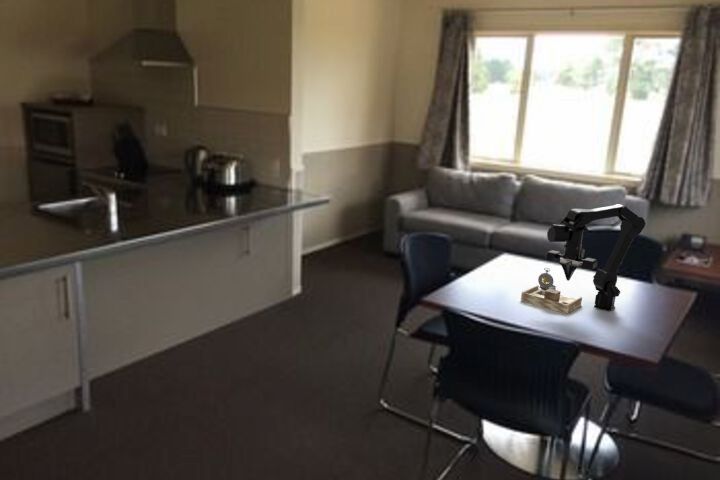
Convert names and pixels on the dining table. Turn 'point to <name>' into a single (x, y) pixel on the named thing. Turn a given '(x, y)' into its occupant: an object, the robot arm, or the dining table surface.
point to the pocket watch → (546, 280)
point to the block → (552, 295)
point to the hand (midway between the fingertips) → (568, 280)
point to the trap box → (538, 299)
